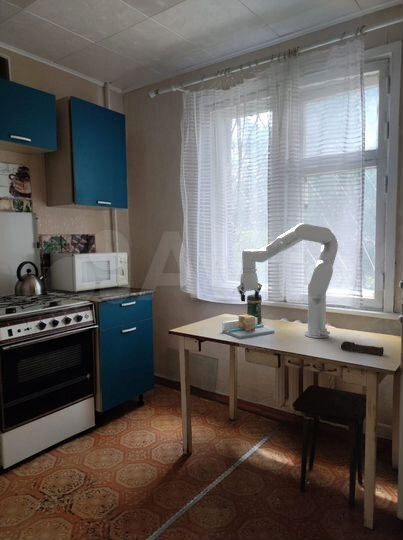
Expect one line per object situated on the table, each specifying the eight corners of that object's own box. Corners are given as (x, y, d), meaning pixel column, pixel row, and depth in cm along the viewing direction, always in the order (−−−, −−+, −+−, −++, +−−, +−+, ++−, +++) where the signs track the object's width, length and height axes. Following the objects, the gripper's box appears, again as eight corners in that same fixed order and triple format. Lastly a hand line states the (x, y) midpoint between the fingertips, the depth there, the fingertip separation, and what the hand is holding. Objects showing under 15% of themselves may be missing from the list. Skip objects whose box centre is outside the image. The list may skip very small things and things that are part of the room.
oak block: (255, 330, 224) (254, 316, 224) (246, 331, 221) (246, 317, 221) (246, 327, 231) (246, 314, 230) (238, 328, 228) (238, 315, 228)
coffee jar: (254, 325, 243) (253, 296, 242) (244, 323, 249) (244, 294, 248) (264, 322, 250) (263, 294, 248) (254, 320, 256) (254, 293, 254)
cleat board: (274, 332, 223) (274, 322, 223) (240, 338, 211) (239, 328, 211) (255, 326, 239) (255, 317, 238) (222, 332, 227) (222, 322, 227)
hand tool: (384, 354, 181) (384, 344, 180) (382, 356, 177) (382, 347, 177) (342, 348, 191) (342, 339, 191) (340, 350, 188) (340, 341, 188)
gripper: (257, 269, 231) (257, 297, 232) (233, 271, 222) (234, 301, 224) (265, 270, 224) (265, 299, 226) (240, 272, 216) (241, 302, 217)
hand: (249, 300), depth 225 cm, fingers open, 9 cm apart
